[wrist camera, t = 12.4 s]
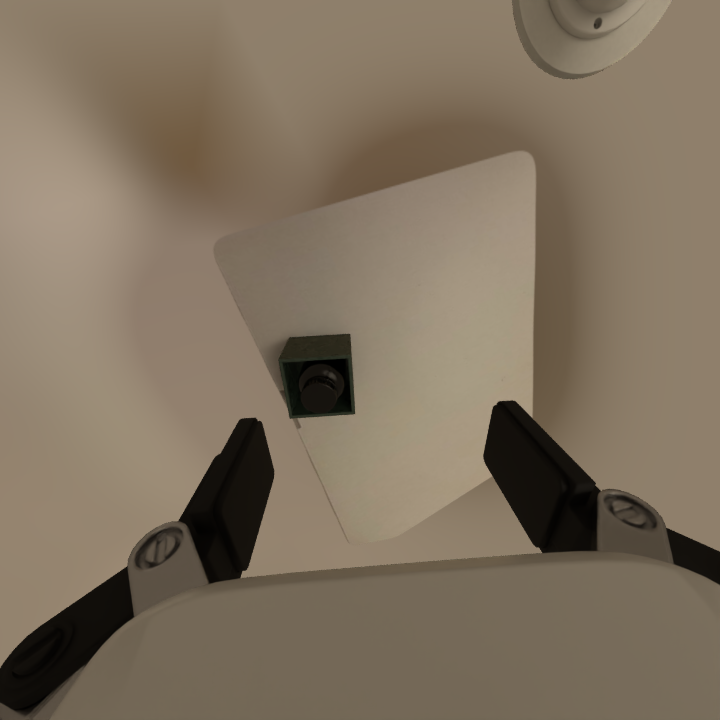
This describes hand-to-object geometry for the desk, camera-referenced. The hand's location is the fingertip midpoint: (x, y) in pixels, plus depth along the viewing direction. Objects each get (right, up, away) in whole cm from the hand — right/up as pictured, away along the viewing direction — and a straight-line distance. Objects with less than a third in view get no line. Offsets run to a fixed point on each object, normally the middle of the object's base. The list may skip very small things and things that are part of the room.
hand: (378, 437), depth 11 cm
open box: (-7, +3, +36) cm, 37 cm away
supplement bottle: (-7, +3, +35) cm, 36 cm away
